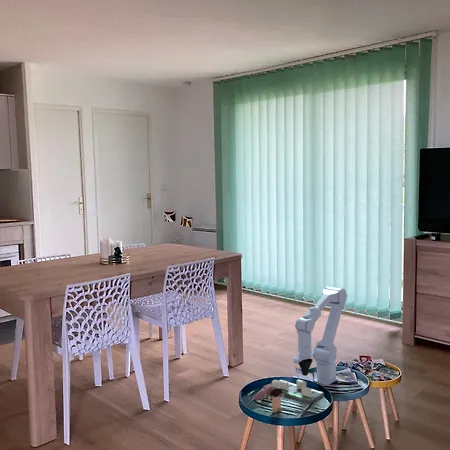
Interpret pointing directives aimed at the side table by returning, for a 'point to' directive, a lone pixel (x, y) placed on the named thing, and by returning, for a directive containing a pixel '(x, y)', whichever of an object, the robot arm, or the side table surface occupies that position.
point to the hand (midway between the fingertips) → (305, 375)
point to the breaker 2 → (306, 391)
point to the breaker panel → (297, 394)
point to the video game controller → (263, 392)
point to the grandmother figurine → (276, 396)
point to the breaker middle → (301, 384)
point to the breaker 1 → (283, 384)
